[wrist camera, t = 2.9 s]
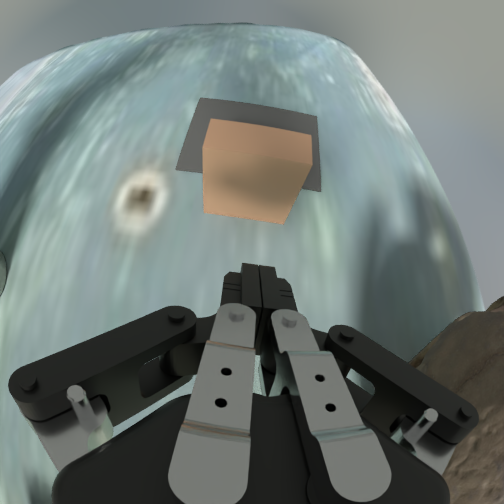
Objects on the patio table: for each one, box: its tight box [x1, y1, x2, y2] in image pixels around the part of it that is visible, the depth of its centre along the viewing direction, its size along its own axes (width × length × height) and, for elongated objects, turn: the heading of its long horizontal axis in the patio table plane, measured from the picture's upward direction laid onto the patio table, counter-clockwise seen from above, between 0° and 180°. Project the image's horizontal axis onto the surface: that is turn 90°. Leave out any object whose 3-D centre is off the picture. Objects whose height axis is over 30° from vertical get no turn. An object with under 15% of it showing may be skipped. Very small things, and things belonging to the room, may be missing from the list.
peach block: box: [202, 119, 313, 224], centre depth 31 cm, size 10×4×12 cm, turn 84°
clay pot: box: [408, 296, 504, 504], centre depth 17 cm, size 24×24×25 cm
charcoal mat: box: [176, 98, 321, 192], centre depth 41 cm, size 20×16×1 cm
